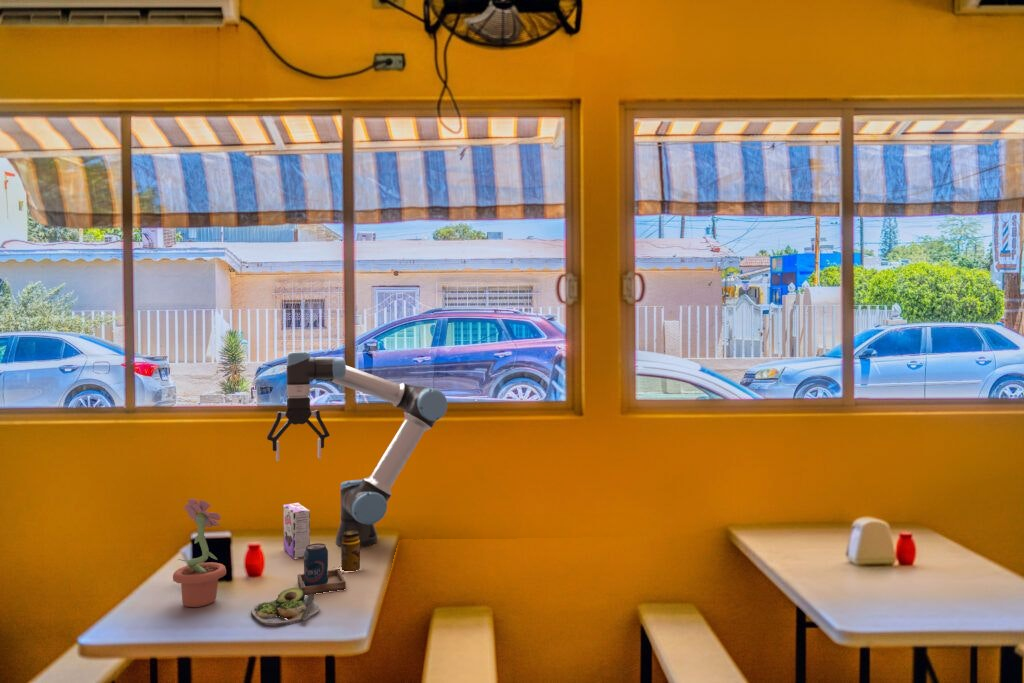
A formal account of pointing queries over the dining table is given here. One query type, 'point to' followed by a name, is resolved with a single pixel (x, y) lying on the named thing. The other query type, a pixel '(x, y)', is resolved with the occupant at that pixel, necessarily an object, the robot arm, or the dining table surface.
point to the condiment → (350, 551)
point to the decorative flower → (200, 561)
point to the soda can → (315, 564)
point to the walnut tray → (333, 584)
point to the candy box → (296, 529)
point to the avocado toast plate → (286, 608)
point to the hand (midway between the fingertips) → (298, 459)
